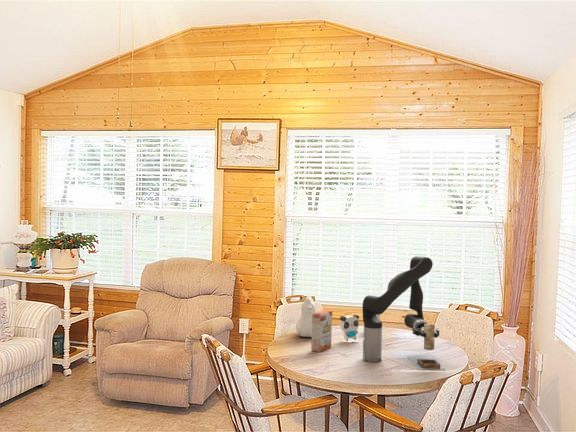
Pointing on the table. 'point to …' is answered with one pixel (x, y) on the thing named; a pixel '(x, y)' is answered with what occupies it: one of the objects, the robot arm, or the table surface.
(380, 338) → the robot arm
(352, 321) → the panda figurine
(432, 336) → the maple pillar
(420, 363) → the socket collar
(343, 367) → the table surface
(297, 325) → the decorative rooster
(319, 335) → the cracker box
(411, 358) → the board
